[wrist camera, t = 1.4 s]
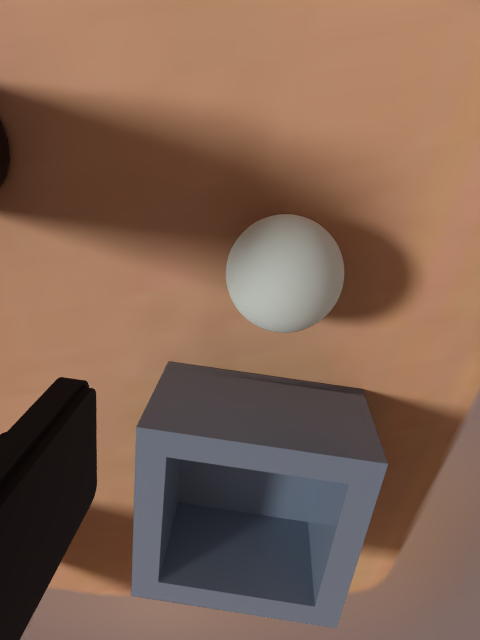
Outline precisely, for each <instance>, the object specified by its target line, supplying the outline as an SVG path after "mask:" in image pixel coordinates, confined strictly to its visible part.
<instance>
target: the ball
mask: <svg viewBox="0 0 480 640" xmlns="http://www.w3.org/2000/svg"><path fill="white" fill-rule="evenodd" d="M343 282H344V262H343V258H342V255H341V252H340V249H339V247H338V245H337V243H336V242H335V240H334V238H333V237H332V236H331V235H330V234H329V233H328V232H327V231H326V230H325V229H324V228H323V227H322V226H321V225H319V224H318V223H316V222H314V221H312V220H310V219H308V218H306V217H303V216H299V215H294V214H278V215H273V216H269V217H266V218H263V219H261V220H259V221H257V222H255V223H254V224H252V225H251V226H249V227H248V228H247V229H246V230H245V231H244V232H243V233H242V234H241V235H240V236H239V237H238V239H237V240H236V242H235V243H234V245H233V247H232V249H231V251H230V253H229V256H228V260H227V266H226V283H227V288H228V292H229V294H230V297H231V299H232V301H233V303H234V305H235V306H236V308H237V309H238V311H239V312H240V313H241V314H242V315H243V316H244V317H245V318H246V319H247V320H249V321H250V322H251V323H253V324H255V325H256V326H258V327H260V328H262V329H265V330H268V331H273V332H280V333H290V332H296V331H300V330H304V329H306V328H309V327H311V326H313V325H315V324H316V323H318V322H319V321H321V320H322V319H323V318H324V317H325V316H326V315H327V314H328V313H329V312H330V311H331V310H332V308H333V307H334V306H335V304H336V302H337V301H338V299H339V296H340V294H341V291H342V287H343Z"/></svg>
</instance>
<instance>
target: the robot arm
mask: <svg viewBox="0 0 480 640" xmlns="http://www.w3.org/2000/svg"><path fill="white" fill-rule="evenodd" d="M96 486H97V449H96V391H95V389H93V388H89V385H88V382H87V381H84V380H77V379H70V378H64V377H60V378H58V379H57V380H56V381H55V382H54V383H53V384H52V385H51V386H50V387H49V388H48V389H47V390H46V391H45V392H44V393H43V395H42V396H41V397H40V398H39V399H38V400H37V401H36V402H35V403H34V404H33V405H32V406H31V407H30V408H29V409H28V410H27V411H26V412H25V414H24V415H23V416H22V417H21V418H20V419H19V420H18V421H17V422H16V423H15V424H14V425H13V426H12V427H11V428H10V429H9V430H8V431H7V432H5V433H2V434H1V435H0V640H20V639H21V637H22V635H23V633H24V631H25V629H26V627H27V625H28V623H29V621H30V619H31V618H32V616H33V614H34V612H35V610H36V608H37V606H38V604H39V602H40V600H41V598H42V596H43V594H44V593H45V591H46V589H47V587H48V585H49V583H50V581H51V579H52V577H53V576H54V574H55V572H56V570H57V568H58V566H59V564H60V562H61V560H62V558H63V556H64V555H65V553H66V551H67V549H68V547H69V545H70V543H71V541H72V539H73V537H74V535H75V534H76V532H77V530H78V528H79V526H80V524H81V522H82V520H83V518H84V516H85V514H86V512H87V511H88V509H89V507H90V505H91V503H92V501H93V498H94V495H95V492H96Z"/></svg>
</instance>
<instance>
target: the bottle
mask: <svg viewBox="0 0 480 640" xmlns="http://www.w3.org/2000/svg"><path fill="white" fill-rule="evenodd" d="M9 160H10V159H9V149H8V139H7V137H6V134H5V131H4V129H3V126H2V123H1V121H0V186H1V185H2V183H3V182H4V180H5V179H6V175H7V170H8V165H9Z"/></svg>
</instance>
